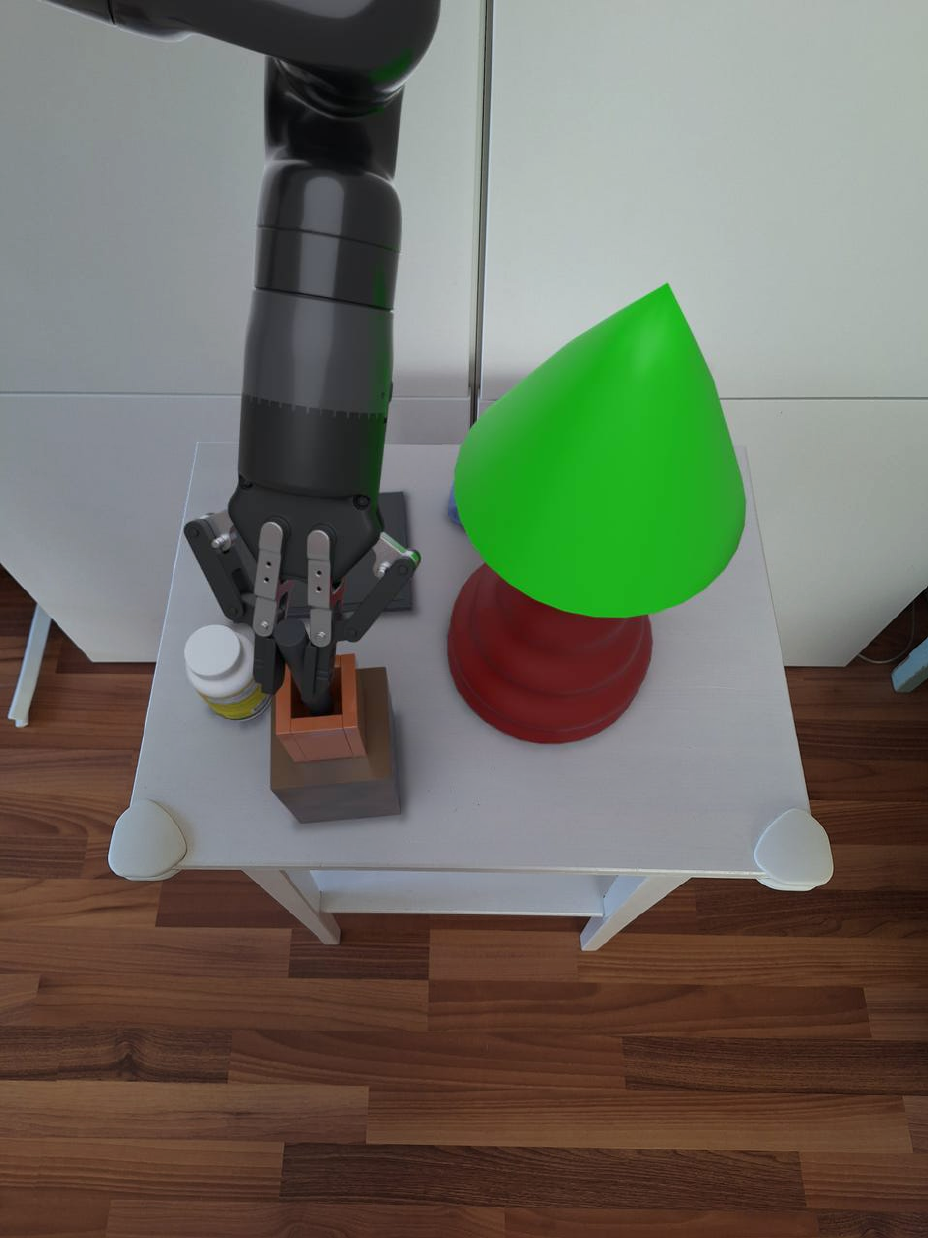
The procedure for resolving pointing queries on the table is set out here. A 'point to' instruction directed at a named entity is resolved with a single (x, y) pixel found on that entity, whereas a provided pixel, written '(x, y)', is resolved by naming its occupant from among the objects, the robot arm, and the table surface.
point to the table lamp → (590, 522)
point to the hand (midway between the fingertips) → (292, 691)
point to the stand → (344, 767)
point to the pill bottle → (224, 672)
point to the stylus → (299, 660)
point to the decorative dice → (453, 507)
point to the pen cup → (324, 717)
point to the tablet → (359, 576)
